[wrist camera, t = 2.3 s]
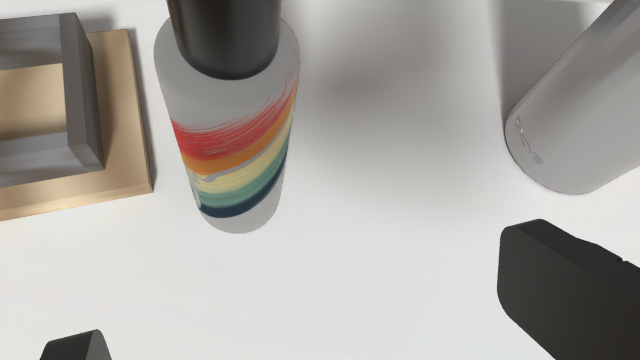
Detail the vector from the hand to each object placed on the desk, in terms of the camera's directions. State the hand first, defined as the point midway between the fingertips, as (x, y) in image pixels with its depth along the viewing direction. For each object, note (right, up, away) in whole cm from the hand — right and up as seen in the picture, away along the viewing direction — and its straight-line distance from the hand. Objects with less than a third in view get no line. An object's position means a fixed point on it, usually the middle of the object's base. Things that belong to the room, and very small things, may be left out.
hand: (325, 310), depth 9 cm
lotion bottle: (-6, +1, +22) cm, 23 cm away
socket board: (-20, +6, +22) cm, 31 cm away
